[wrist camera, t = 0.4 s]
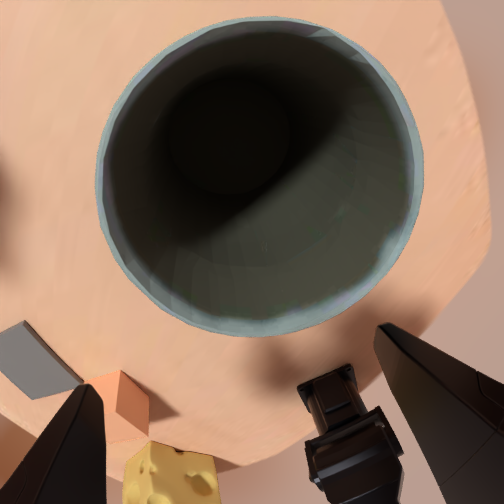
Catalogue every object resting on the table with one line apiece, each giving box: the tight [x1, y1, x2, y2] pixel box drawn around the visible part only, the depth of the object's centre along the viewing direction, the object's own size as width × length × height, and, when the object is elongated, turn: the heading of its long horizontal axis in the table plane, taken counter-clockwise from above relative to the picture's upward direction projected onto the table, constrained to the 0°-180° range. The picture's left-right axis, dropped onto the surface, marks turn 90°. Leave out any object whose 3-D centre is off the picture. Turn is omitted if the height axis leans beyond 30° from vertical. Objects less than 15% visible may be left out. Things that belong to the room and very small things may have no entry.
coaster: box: [0, 320, 84, 400], centre depth 24 cm, size 9×9×1 cm
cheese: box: [123, 441, 221, 504], centre depth 33 cm, size 10×11×10 cm
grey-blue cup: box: [95, 16, 424, 337], centre depth 14 cm, size 10×10×12 cm
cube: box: [84, 370, 149, 444], centre depth 26 cm, size 5×5×5 cm
